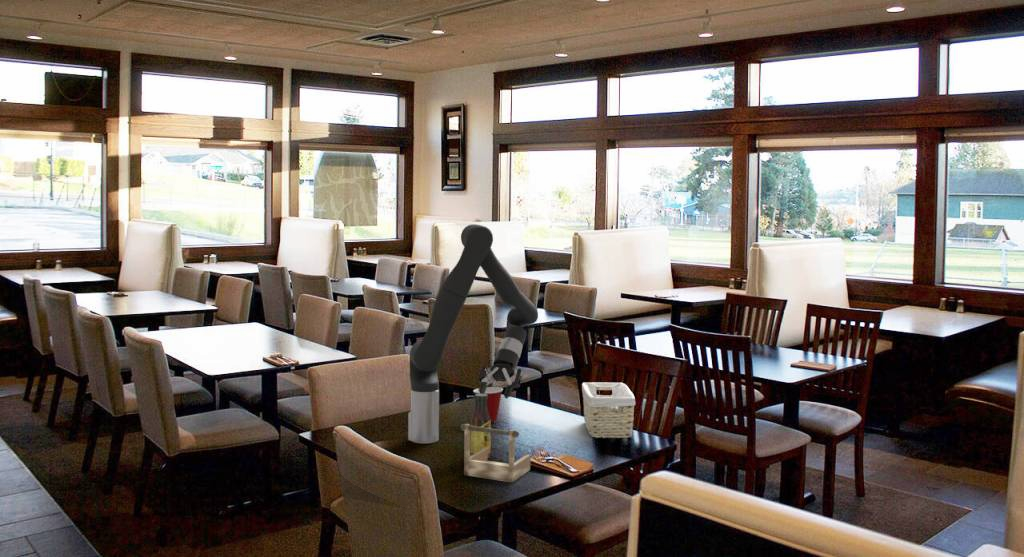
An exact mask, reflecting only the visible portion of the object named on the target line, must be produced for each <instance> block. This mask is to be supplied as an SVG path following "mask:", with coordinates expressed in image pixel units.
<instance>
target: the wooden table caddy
mask: <svg viewBox="0 0 1024 557" xmlns="http://www.w3.org/2000/svg"><path fill="white" fill-rule="evenodd" d="M460 429H461V431H463V432H464V438H463V439H464V443H463V444H464V446H463V449H464V451H463V452H464V454H463V456H464V457H463V460H464V461H463V475H464V476H468V477H475V478H482V479H488V480H494V481H499V482H500V481H501V482H505V483H507V482H508V483H514V482H516V481H517V480H518V479H519V478H521V477H522V476H523V475H525V474H526V473H527V472H529V471H530V470H531V454H525V455H524V456H522V457H521V458H519V459H517V460H515V453H516V452H515V451H516V450H515V447H516V446H515V444H516V443H515V440H516V438H518V437H519V435H520V433H519V431H518V430H515V429H509V430H504V429H502V430H501V429H496V428H491V429H489V428H482V427H474V426H471V423H462V424H461V425H460ZM471 430H472V431H480V432H487V433H491V434H496V435H502V436H508V463H505V462H499V461H492V460H488V458H487V451H488V449H485V448H484V449H482V450H480V451H479V452H477V453H475V454H473V455H472V456H471V452H470V444H471Z"/></svg>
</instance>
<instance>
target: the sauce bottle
mask: <svg viewBox="0 0 1024 557" xmlns="http://www.w3.org/2000/svg"><path fill="white" fill-rule="evenodd" d="M487 399H488V395H487V394H475V393H474V402H475V403H474V411H473V412H472V413H471V415H470V416H471V418H470V426H474V427H482V428H489V429H492V423H491V419H490V416H489V413H488V410H487ZM491 434H492V433H487V432H480V431H472V430H470V456H472V455H473V454H475V453H477V452H479V451H480V450H482V449H484V448H485V449H488V451H487V459H489V458H490V456H491V441H492V440H491Z"/></svg>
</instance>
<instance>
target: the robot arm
mask: <svg viewBox="0 0 1024 557" xmlns="http://www.w3.org/2000/svg"><path fill="white" fill-rule="evenodd" d="M460 241H461V244H462V246H463V250H462V252H461V255H460V257H459V259H458V261H457V262H456V265H455V266H454V267H453V269H452V270H451V271H450V272H449V273H448V275H447V276H446V278H445V279H444V280H443V282H442V284H441V286H440V288H439V291H438V293H437V294H436V298H435V299H434V303H433V307H432V310H431V316H430V319H429V320H430V321H429V324H428V327H427V329H426V332H425V334H424V336H423V337H422V339H420V340H418V341H416V342H415V343H414V344H412V347H411V348H410V351H409V381H410V411H409V412H408V414H407V417H408V419H407V421H408V424H407V425H408V427H407V428H408V430H407V435H408V436H407V438H408V441H411V442H412V443H415V444H421V445H422V444H423V445H424V444H427V445H428V444H434V443H437V442H438V441H439V439H440V438H439V435H440V432H439V430H440V429H439V428H440V427H439V426H440V424H439V423H440V419H439V418H440V414H439V413H440V382H439V376H438V365H439V364H440V362H441V359H442V357H443V353H444V351H445V348H446V344H447V342H448V338H449V336H450V333H451V332H452V330H453V327H454V325H455V324H456V322H457V320H458V318H459V316H460V314H461V312H462V310H463V308H464V304H465V303H466V300H467V298H468V295H469V292H470V290H471V288H472V286H473V283H474V281H475V278H476V277H477V274H478V271H479V270H480V268H481V269H482V270H483V272H484V273H485V275H486V276H487V279H488V280H489V282H490V283H491V285H492V287H493V288H494V291H495V292H496V293H497V295H498V297H499V298H500V300H501V302H502V303H503V304H504V305H506V306H511V307H512V308H511V309H510V310H509V311H508V312H507V317H506V325H505V326H506V327H505V328H506V329H505V333H504V335H503V338H502V340H501V343H500V344H499V345H498V346H499V347H498V350H497V351H496V354H495V358H494V360H493V364H492V366H491V367H490V366H487V365H485V364H484V365H482V367H481V370H480V371H479V373H478V376H477V381H478V383H479V384H480V386H479V388H478V389H479V392H480V394H484V393H485V391H486V388H487V387H488V386H489V385H490V384H493V383H494V382H502V383H505V382H507V385H506V388H505V390H504V393H503V397H504V398H505V399H508V398H510V397H511V394H512V392H513V390H514V389H515V388H516V389H519V388H520V387H521V383H522V381H523V380H522V379H523V377H524V372H523V370H522V368H518V369H517V366H518V363H519V360H520V358H521V354H522V350H523V347H524V344H525V341H526V337H527V331H526V329H525V328H523V327H524V326H529V325H533V324H535V323H536V322H537V321H538V318H539V313H538V309H537V308H536V306H535V304H534V303H533V302H532V301H531V300H530V299H529V298H528V297H527V296H526V295H525V294H524V293H523V292H522V291H521V290H520V288H519V287H518V285H517V283H516V282H515V279H514V278H513V277H512V275H511V274H510V273H509V271H508V270H507V269H506V268H505V266H504V265H503V264H502V263H501V261H500V260H499V259H498V258H497V256H496V254H495V253H494V251H493V249H492V245H493V242H494V236H493V233H492V230H491V229H489V227H487V226H484V225H481V224H476V223H475V224H468V225H467V226H465V227H464V228H463V230H462V231H461V234H460ZM514 375H515V377H514V380H513V382H512V379H511V378H512V377H513V376H514Z"/></svg>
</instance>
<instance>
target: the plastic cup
mask: <svg viewBox="0 0 1024 557" xmlns="http://www.w3.org/2000/svg"><path fill="white" fill-rule="evenodd" d="M503 390H504V388H502V387H497V386H496V387H494V386H491V387H489V386H487V388H486V391H485V393H484V394H487V395H488V399H487V410H488V413H489V416H490V419H491V422H494V421H496V422H497V418H498V414H499V409H500V402H501V396H502V394H503ZM472 392H473V393H474V395H475V394H480V392H479V388H475V389H473V391H472Z"/></svg>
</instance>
